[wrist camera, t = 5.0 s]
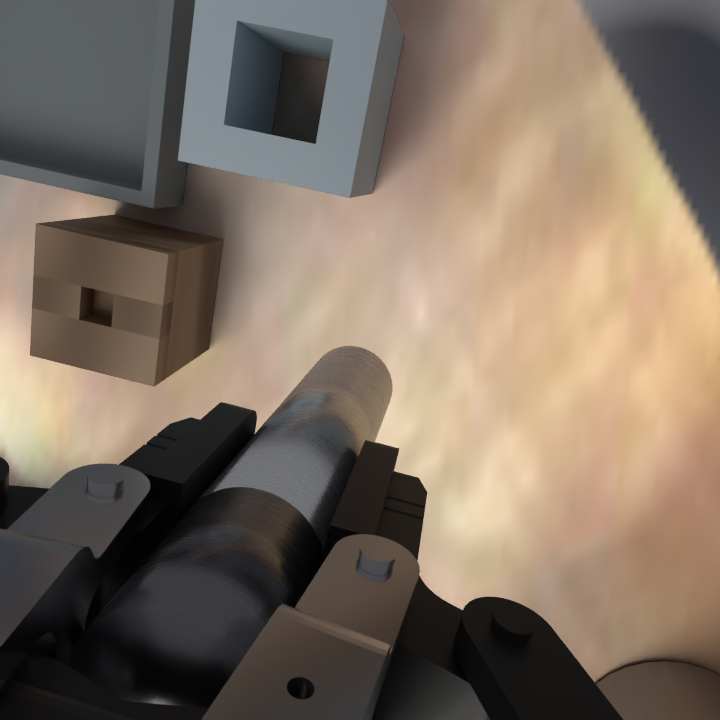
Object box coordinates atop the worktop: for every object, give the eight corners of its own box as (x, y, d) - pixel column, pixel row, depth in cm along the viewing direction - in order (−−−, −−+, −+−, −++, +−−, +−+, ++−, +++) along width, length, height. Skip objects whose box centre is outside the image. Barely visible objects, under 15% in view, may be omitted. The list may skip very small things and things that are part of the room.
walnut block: (223, 239, 30) (168, 254, 25) (209, 348, 32) (154, 386, 26) (115, 214, 31) (36, 223, 25) (106, 323, 33) (29, 355, 27)
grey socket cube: (404, 34, 27) (388, -4, 21) (372, 193, 29) (349, 197, 23) (254, 5, 27) (199, -39, 22) (233, 163, 29) (178, 160, 24)
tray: (220, -121, 26) (190, -158, 23) (182, 205, 30) (153, 208, 27) (-75, -173, 27) (-138, -214, 24) (-74, 148, 31) (-128, 145, 28)
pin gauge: (400, 357, 18) (281, 648, 7) (382, 434, 19) (246, 815, 7) (319, 337, 18) (71, 585, 7) (304, 413, 19) (57, 752, 8)
